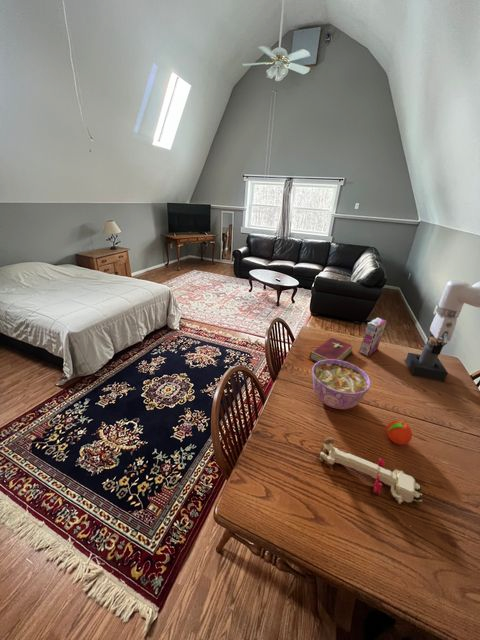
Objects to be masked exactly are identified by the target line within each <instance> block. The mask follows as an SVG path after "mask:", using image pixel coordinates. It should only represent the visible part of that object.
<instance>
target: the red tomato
mask: <svg viewBox="0 0 480 640" xmlns="http://www.w3.org/2000/svg"><path fill="white" fill-rule="evenodd" d="M385 430H386V436H387V437H388V439H389V440H390V441H391V442H393V443H395V444H396V445H400V446H401V445H408V443H410V442H411V441H412V438H413V431H412V429H411V426H409V425H408V424H407V423H406V422H405V421H403V420H391V421H390V422H388V424H387V425H386V429H385Z"/></svg>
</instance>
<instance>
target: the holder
mask: <svg viewBox="0 0 480 640" xmlns="http://www.w3.org/2000/svg"><path fill="white" fill-rule="evenodd" d="M420 356H421V354H418V353H413V352H408V353H407V355H406V357H405V363H406V365H407V367H408V369H409V371H410V374H411V376H415V377H419V378H424V379H430V380H435V381H439V382H440V381H441V382H445V380H446V378H447V376H448V373H449V372H448V371H447V369H446V367H445V366H444V364H443V363H442V361H441V360H440V359H439V357H437V360H436V362H435V364H434V366H433V367H430V366H424V365H420V363H419V358H420Z"/></svg>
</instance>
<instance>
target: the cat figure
mask: <svg viewBox="0 0 480 640" xmlns="http://www.w3.org/2000/svg"><path fill="white" fill-rule="evenodd" d="M334 443H335V439H334V437H332V436H329V437H328V436H327V437H326V438H324V440H323V448H322V451H320V453H319V458H318V461H319V462H321V463H323V462H324V461H327V463H328V464H330V465H331V466H333V465H335V463H336V464H340V465H342V466H345V467H347V468H352V469H354V470H356V471H359V472H361V473H363V474H366V475H368V476H370V477H372V478H373V479H375V482H374V487H373V493H375V494H379V495H381V493H382V488H383V483H384V485H387V486H389V487H390V493H391V496H392V497H393V498H395V501H397V503H398V504H399V505H401V504H402V503H404V502H406V503H408V504H409V503H413V501H414V502H418V503H419V502H420V503H422V502H423V499H422V496H423V493H421V491H422V486H420V484H419V483H417V482H416V479H415V478H414V477H413V476H411V475H408V474H406V473H405V472H404V471H403V470H399V469H393V471H391V470H390V469H387V468H384V467H385V466H386V462H385V460H383V459H382V458H381V457H379V458H378V462H377V463H374V462H372V461H369V460H367V459H364V458H362V457H360V456H357V455H354V454H352V453H350V452H348V453H347V452H345V451H342V450H340V449H339V448H337V447H335V446H333V444H334ZM327 451H328V455H327ZM379 481H380V482H379Z"/></svg>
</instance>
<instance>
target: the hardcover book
mask: <svg viewBox="0 0 480 640" xmlns="http://www.w3.org/2000/svg"><path fill="white" fill-rule="evenodd" d="M354 346H355V345H354V344H351V343H350V342H346V341H343V340H340V339H338V338H336V337H334V336H331V337H330V338H328V339H327V340H325V341H324V342H323V343H321V344H320V345H319V346H317V347H316V348H315V349H313V350H312V351H310V353H309V360H310V361H313V362H315V363H317V362H319V361H321V360H326V359H335V360H341V361H345V360H346V359H347V358H348V357H349V356H350V355H351V354H352V353H353V348H354Z"/></svg>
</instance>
